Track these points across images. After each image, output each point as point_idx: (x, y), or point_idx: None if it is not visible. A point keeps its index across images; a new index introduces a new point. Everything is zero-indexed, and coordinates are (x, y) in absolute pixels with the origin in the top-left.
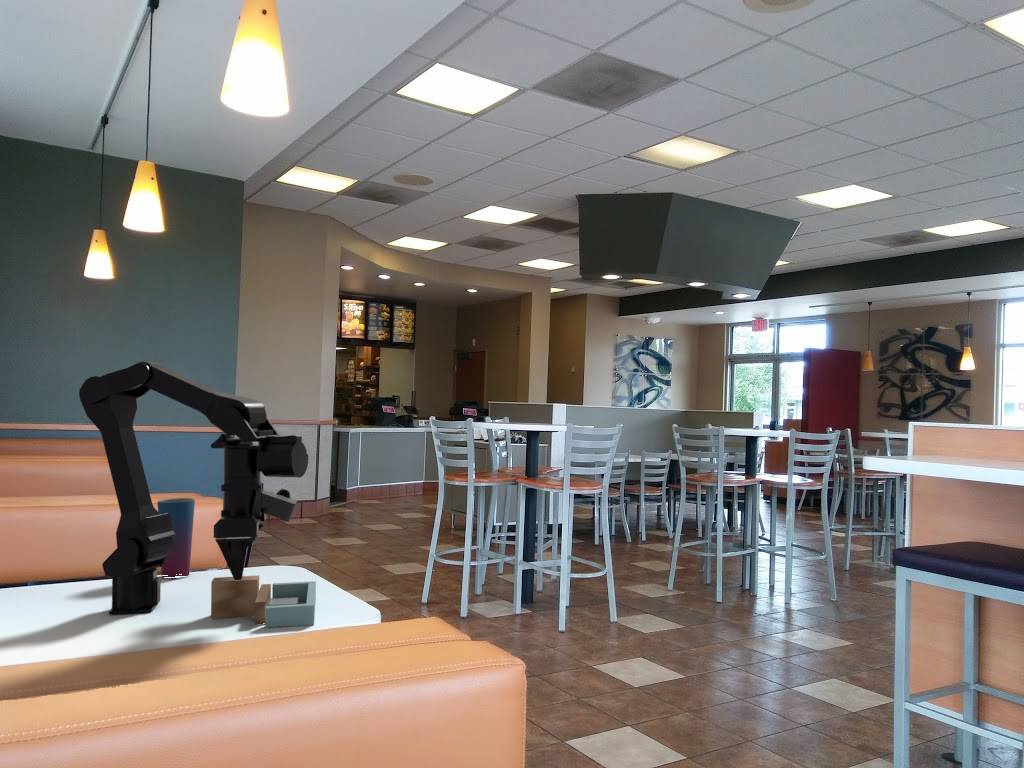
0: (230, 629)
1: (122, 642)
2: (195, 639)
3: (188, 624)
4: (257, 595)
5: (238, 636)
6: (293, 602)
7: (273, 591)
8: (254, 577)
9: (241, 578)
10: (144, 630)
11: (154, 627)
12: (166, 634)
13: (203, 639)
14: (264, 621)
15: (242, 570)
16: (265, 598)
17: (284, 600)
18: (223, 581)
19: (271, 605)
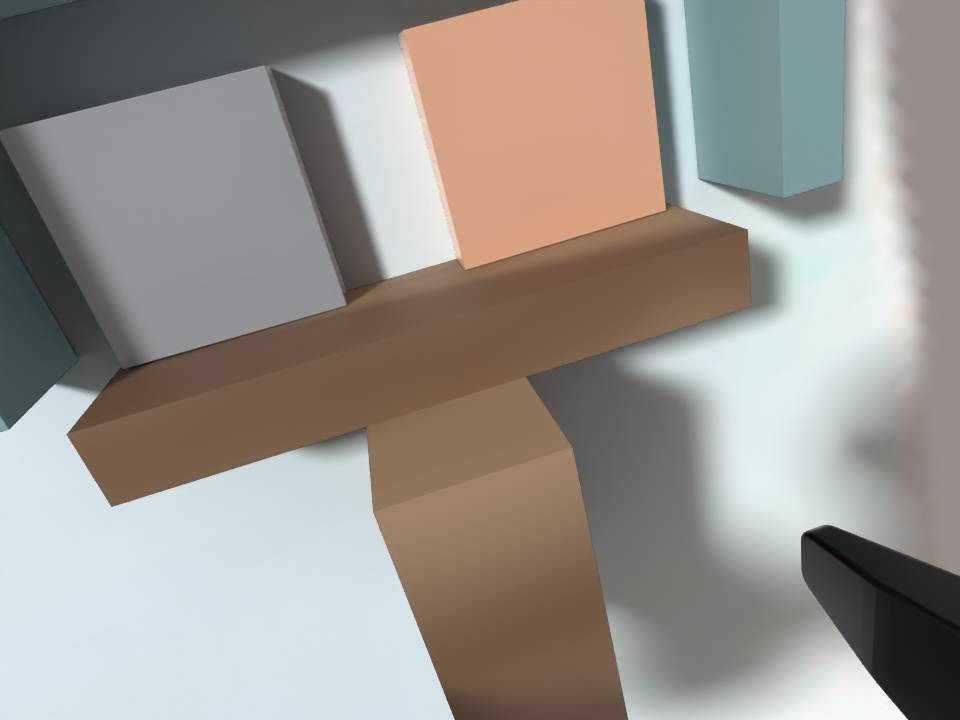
0: (735, 363)
1: (834, 678)
2: (865, 450)
3: (620, 596)
4: (532, 374)
5: (870, 265)
6: (228, 115)
7: (33, 391)
8: (477, 515)
9: (833, 527)
10: (692, 700)
11: (653, 692)
12: (764, 598)
13: (875, 416)
14: (667, 205)
15: (932, 570)
16: (640, 266)
17: (170, 226)
18: (618, 678)
19: (338, 283)
